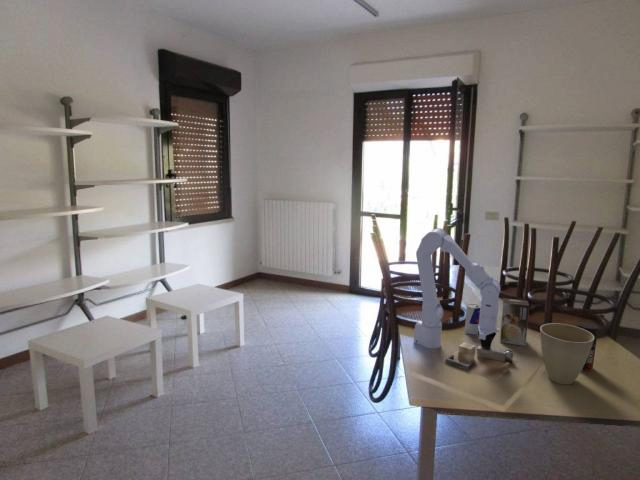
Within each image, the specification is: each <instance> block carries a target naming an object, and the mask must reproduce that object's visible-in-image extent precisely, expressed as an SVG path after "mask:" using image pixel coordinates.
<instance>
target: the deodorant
mask: <svg viewBox="0 0 640 480" xmlns="http://www.w3.org/2000/svg"><path fill="white" fill-rule="evenodd" d="M576 327H579V328H582V329H584V330H587V331H589V332H590V333H592V334H593V336H594V341H593V344H592V347H591V350H590V353H589V355H588V358H587V360H586V362H585V364H584V366H583V368H582V370H583V372H591V370H592V369H593V368H594V361H595V354H596V347H597V339H598V333H599V326H598V325H597V324H595V323H592V322H587V321H586V322H585V321H579V322H578V323H577V325H576ZM592 371H593V370H592Z"/></svg>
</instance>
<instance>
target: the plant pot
mask: <svg viewBox="0 0 640 480" xmlns="http://www.w3.org/2000/svg"><path fill="white" fill-rule="evenodd" d="M539 333H540V335H539V336H540V345H541V346H540V347H541V353H542V358H543V364H544V366H545V371H546V375H547V377H548V378H549V379H550V380H551V381H553V382H555V383H557V384H562V385H571V384H573V383H574V382H575V381H576V380H577V378H578V377H579V375H580V374H581V373H582V371H581V370H582V368H583V366H584V364H585V362H586V360H587V358H588V355H589V353H590V350H591V347H592V344H593V341H594V336H593V334H592V333H590V332H589V331H587V330H584V329H582V328H579V327H577V325H576V326H575V325H571V324H567V323H566V324H565V323H560V322H559V323H558V322H557V323H555V322H554V323H553V322H550V323H545V324H542V325H541V326H540V327H539Z"/></svg>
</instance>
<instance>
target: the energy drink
mask: <svg viewBox="0 0 640 480" xmlns="http://www.w3.org/2000/svg"><path fill="white" fill-rule="evenodd" d="M480 306H481V305H479V304H474V303H469V304H467V305H466V310H465V311H466V312H465V325H464V335H466V336H468V337H471V338H476V337H479V336H478V331H479V329H478V325H479V317H480Z"/></svg>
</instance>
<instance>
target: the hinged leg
mask: <svg viewBox="0 0 640 480" xmlns="http://www.w3.org/2000/svg"><path fill="white" fill-rule="evenodd" d="M476 349H477V357H482V358H487V359H493V360H498V361H504V362H508V363H512V362H513V360H514V351H513V350H510V349H505V350H504V349H498V348H493V347H490V348H487V347H482V346H481V345H478V346H477V348H476Z"/></svg>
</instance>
